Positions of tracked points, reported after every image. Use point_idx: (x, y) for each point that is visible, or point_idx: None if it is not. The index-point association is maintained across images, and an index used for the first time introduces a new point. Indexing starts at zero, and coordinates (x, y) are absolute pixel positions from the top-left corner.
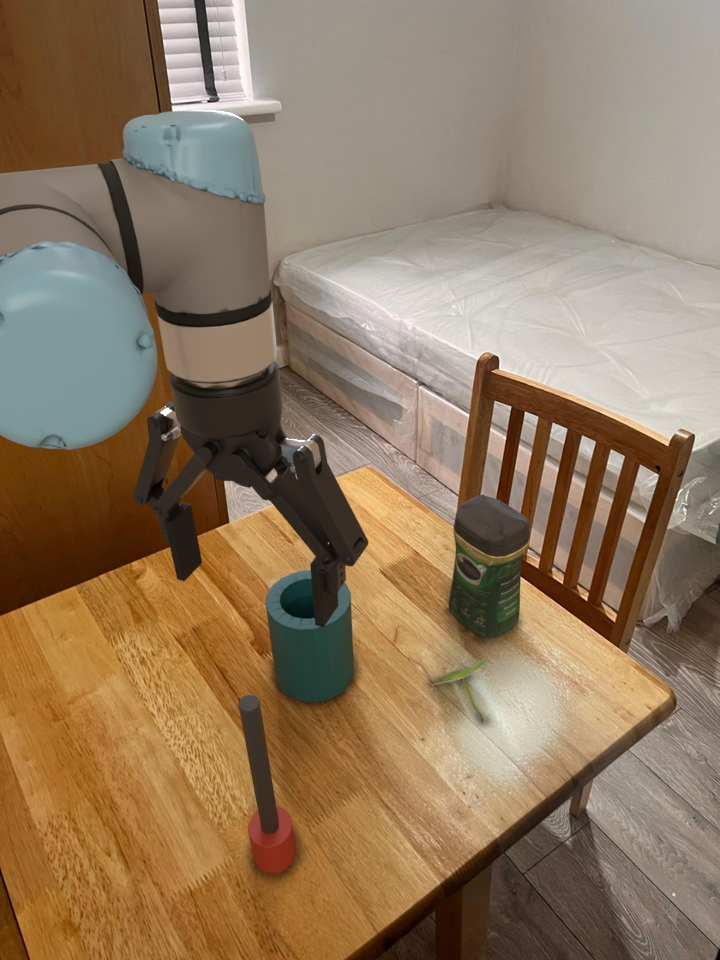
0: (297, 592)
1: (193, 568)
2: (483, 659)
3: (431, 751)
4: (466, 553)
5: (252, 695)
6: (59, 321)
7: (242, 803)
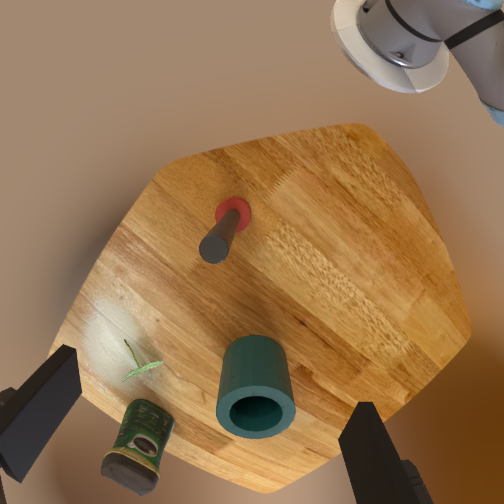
0: (272, 417)
1: (348, 427)
2: (123, 380)
3: (149, 312)
4: (144, 456)
5: (213, 262)
6: None
7: (272, 243)
